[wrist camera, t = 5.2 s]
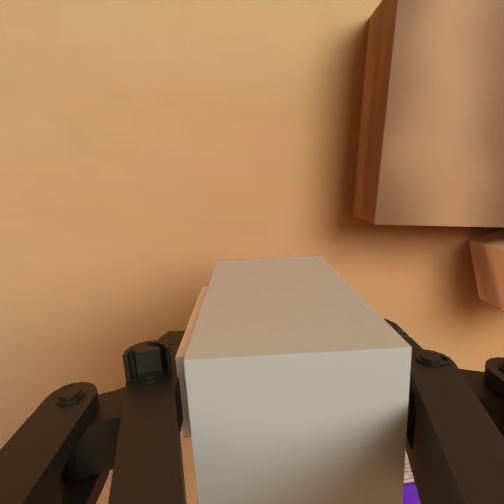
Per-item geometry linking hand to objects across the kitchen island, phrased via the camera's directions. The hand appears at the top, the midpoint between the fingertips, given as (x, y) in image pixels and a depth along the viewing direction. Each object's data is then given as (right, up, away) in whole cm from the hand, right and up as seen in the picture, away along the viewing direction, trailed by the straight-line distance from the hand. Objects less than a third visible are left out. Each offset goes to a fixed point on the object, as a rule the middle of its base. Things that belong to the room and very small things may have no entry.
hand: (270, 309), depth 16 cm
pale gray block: (0, 0, 0) cm, 0 cm away
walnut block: (+13, +12, +7) cm, 19 cm away
